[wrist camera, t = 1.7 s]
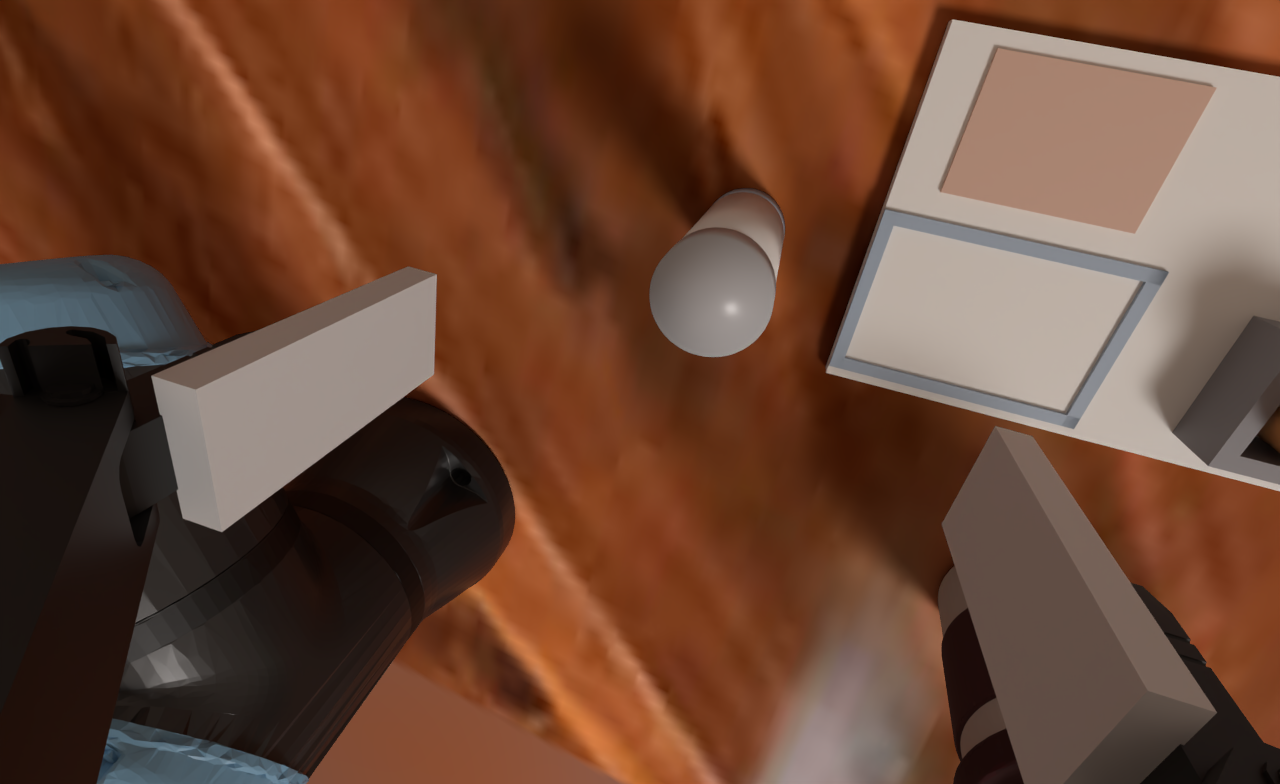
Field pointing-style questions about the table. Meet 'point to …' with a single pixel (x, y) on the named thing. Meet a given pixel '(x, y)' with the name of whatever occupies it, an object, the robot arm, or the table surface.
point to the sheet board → (1083, 250)
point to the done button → (1272, 431)
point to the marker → (721, 276)
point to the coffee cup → (972, 696)
